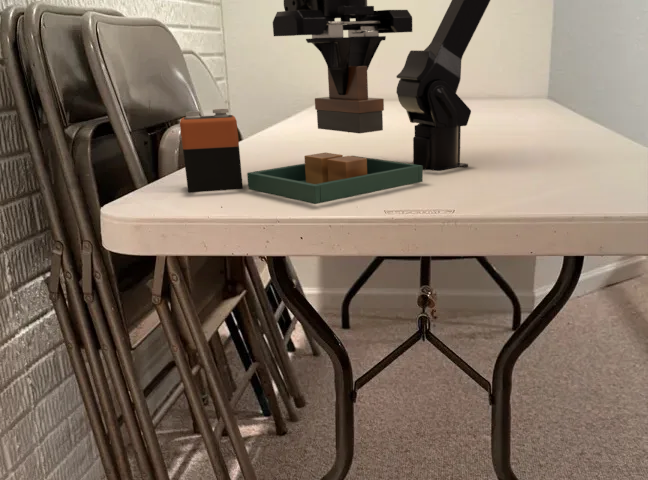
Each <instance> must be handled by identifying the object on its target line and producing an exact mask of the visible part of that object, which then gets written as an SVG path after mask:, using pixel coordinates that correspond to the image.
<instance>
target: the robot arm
mask: <svg viewBox="0 0 648 480" xmlns="http://www.w3.org/2000/svg"><path fill="white" fill-rule="evenodd" d="M490 2H491V0H451V2H450V3H449V6H448V7H447V10H446V11H445V13H444V15H443V18H442V19H441V21H440V24H439V26H438V28H437V30H436V32H435V34H434V36H433V38H432V39H431V42H430V43H429V45H428V46H426V48H425V49H424V50H415V49H414V50H410V51H409V53H408V55H407V57H406V59H405V62H404V66H403V68H402V69H401V71H400V72H399V73H398V74H397V75H396V76H395V77H396V79H399V80H398V83H397V86H396V92H395V93H396V95H397V99H398V102H399V104H400V105H401V107H402V108H403V109H404V110H405V111H406V114H407V117H408V119H409V122H410V123H411V124H415V125H414V136H413V137H412V145H413V146H412V148H413V149H412V153H413V154H412V159H413V162H412V164H416V165H422V166H423V170H428V171H429V170H430V171H434V172H442V171H447V170H452V169H457V168H462V169H464V168H465V169H466V168H469V163H465V162H461V134H462V133H461V128H462V127H466V126H468V123H469V120H470V117H471V114H472V109H470V107H469V105H467V104H466V102H464V101H463V99H462V98H461V97H460V96H459V95H458V94H457V91H458V89H459V86H460V82H461V77H462V61H463V56H464V54H465V52H466V50H467V48H468V47H469V44H470V42H471V41H472V38H473V36H474V34H475V32H476V30H477V28H478V26H479V24H480V22H481V20H482V18H483V17H484V14H485V12H486V10H487V8H488V7H489V4H490ZM283 9H284V11H283V10H282V11H276V14H275V16H274V18H273V20H272V31H273V32H272V33H273V37H295V36H311V38H305V41H306V43H308V44H312V45H313V46H314V47H315V48H316V49H317V50H318V51H319V52H320V54H321V56H322V57H323V59H324V61H325V64H326V66H327V70H328V69H329V71H330V74H331V76H332V79H333V82H334V84H335V87H336V89H337V92H338V94H339V95H345V94H346V89H347V82H348V69H349V66H367V71H369V68H370V65H371V63H372V60H373V58H374V56H375V54H376V53H377V51H378V49H379V46H380V44H381V43H382V41H386V39H387V36H386V35H380V34H396V33H397V34H399V33H413V15H412V14H411V13H410V11H409V10H408V9H381V10H375V6H374V5H368V0H283ZM336 19H340V20H337V21H336ZM351 19H354V20H351ZM344 31H347V36H346V37H345V36H344Z"/></svg>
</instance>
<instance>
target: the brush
mask: <svg viewBox="0 0 648 480" xmlns="http://www.w3.org/2000/svg"><path fill="white" fill-rule="evenodd" d="M327 79H328V81H327V82H328V96H324V97H315V98H314V109H315V110H316V122H317V129H318V130H326V131H333V132H334V131H336V132H341V133H342V132H343V133H350V134H351V133H352V134H366V133H367V134H368V133H374V132H380V131H384V121H383V120H384V119H383V116H384V115H383V111H385V101H384V100H385V99H384V98H381V97H369V85H368V82H369V81H368V80H369V79H368V70H367V66H349V69H348V82H347V89H346V94H345V95H339V94H338V92H337V89H336V87H335V84H334V82H333V79H332V76H331V74H330V71H329V69H328V68H327Z"/></svg>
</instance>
